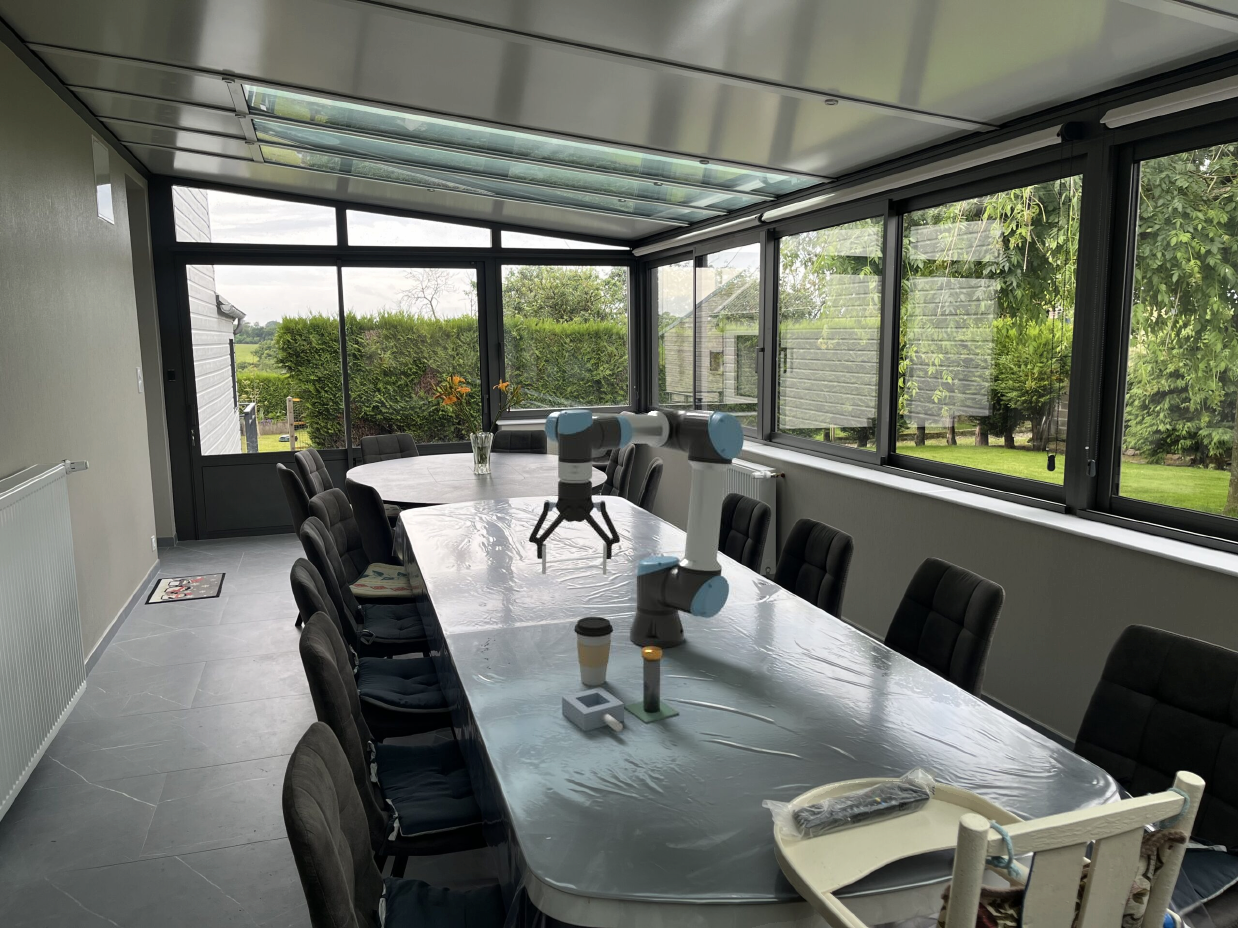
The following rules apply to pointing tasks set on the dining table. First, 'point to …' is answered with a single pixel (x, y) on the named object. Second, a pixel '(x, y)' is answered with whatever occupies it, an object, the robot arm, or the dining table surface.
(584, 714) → the block
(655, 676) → the orange capped tube
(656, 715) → the pad
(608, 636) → the coffee cup
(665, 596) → the robot arm
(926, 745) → the dining table surface
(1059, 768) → the dining table surface
